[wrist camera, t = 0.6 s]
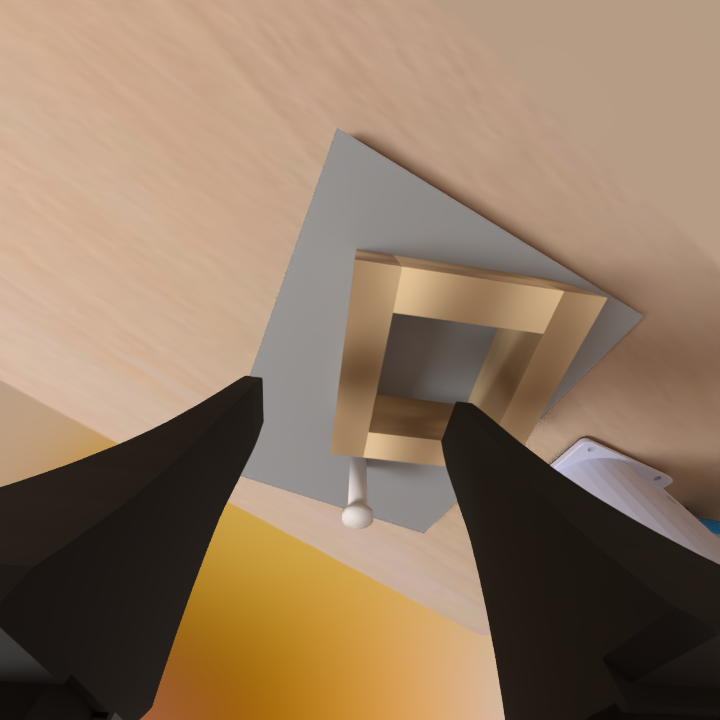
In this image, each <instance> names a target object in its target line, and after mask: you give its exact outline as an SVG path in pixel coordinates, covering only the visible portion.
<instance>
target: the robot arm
mask: <svg viewBox="0 0 720 720" xmlns="http://www.w3.org/2000/svg"><path fill="white" fill-rule="evenodd" d="M263 423H264V411H263V378H261V377H253V376H244V377H242V378H240V379H239V380H237V381H236V382H234V383H232V384H231V385H229V386H228V387H226V388H224V389H223V390H221V391H220V392H218V393H216V394H215V395H213V396H211V397H210V398H208V399H206V400H205V401H203V402H202V403H200V404H198V405H196V406H195V407H193V408H191V409H189V410H187V411H186V412H184V413H182V414H180V415H178V416H177V417H175V418H173V419H171V420H169V421H168V422H166V423H164V424H162V425H160V426H158V427H156V428H154V429H152V430H150V431H147V432H145V433H143V434H141V435H139V436H136V437H134V438H132V439H130V440H128V441H125V442H123V443H121V444H118V445H116V446H113V447H111V448H108V449H106V450H103V451H101V452H98V453H96V454H93V455H91V456H88V457H86V458H83V459H81V460H78V461H76V462H73V463H70V464H68V465H65V466H62V467H59V468H56V469H54V470H51V471H48V472H45V473H42V474H39V475H36V476H34V477H30V478H28V479H25V480H22V481H19V482H16V483H12V484H9V485H6V486H3V487H0V720H140V719H141V718H142V717H143V716H144V715H145V714H146V713H147V712H148V711H149V710H150V709H151V708H152V705H153V702H154V699H155V696H156V693H157V690H158V687H159V684H160V681H161V678H162V675H163V672H164V669H165V666H166V663H167V660H168V657H169V654H170V651H171V648H172V645H173V642H174V639H175V636H176V633H177V630H178V628H179V624H180V622H181V619H182V616H183V614H184V611H185V608H186V605H187V602H188V599H189V597H190V594H191V591H192V588H193V586H194V583H195V580H196V577H197V575H198V572H199V569H200V567H201V564H202V562H203V559H204V556H205V554H206V551H207V548H208V546H209V543H210V541H211V538H212V535H213V533H214V531H215V528H216V526H217V523H218V521H219V518H220V516H221V514H222V512H223V510H224V507H225V505H226V503H227V501H228V499H229V497H230V495H231V493H232V491H233V489H234V487H235V485H236V483H237V482H238V480H239V478H240V476H241V474H242V472H243V470H244V468H245V466H246V464H247V462H248V460H249V458H250V456H251V454H252V452H253V450H254V448H255V445H256V443H257V440H258V437H259V434H260V431H261V428H262V426H263ZM441 444H442V450H443V456H444V460H445V465H446V469H447V472H448V475H449V478H450V481H451V484H452V487H453V490H454V492H455V495H456V498H457V501H458V504H459V507H460V510H461V513H462V516H463V519H464V521H465V524H466V527H467V531H468V534H469V537H470V541H471V544H472V549H473V553H474V557H475V561H476V565H477V569H478V573H479V578H480V583H481V587H482V592H483V596H484V601H485V606H486V610H487V616H488V621H489V626H490V631H491V637H492V642H493V647H494V652H495V658H496V665H497V670H498V677H499V683H500V689H501V695H502V702H503V708H504V715H505V720H720V539H719V538H718V537H717V536H715V535H714V534H713V533H712V532H711V531H710V530H709V529H708V528H707V527H705V526H704V525H703V524H702V523H701V522H700V521H699V520H698V519H697V518H696V517H694V516H693V515H692V514H691V513H690V512H689V511H688V510H687V509H686V508H684V507H683V506H682V505H681V504H680V503H679V502H678V501H677V500H676V499H674V498H673V497H672V496H671V495H670V494H669V493H668V492H667V491H666V490H665V489H664V488H665V487H667V486H668V485H670V484H671V483H672V481H673V479H672V478H671V477H670V476H668V475H667V474H665V473H663V472H660V471H658V470H656V469H654V468H652V467H649V466H647V465H645V464H643V463H641V462H639V461H636V460H634V459H632V458H630V457H628V456H625V455H623V454H621V453H619V452H617V451H615V450H612V449H610V448H608V447H606V446H604V445H601V444H599V443H597V442H595V441H593V440H591V439H588V438H583V439H580V440H579V441H577V442H576V443H575V444H574V445H573V446H572V447H571V448H569V449H568V450H567V451H566V452H565V453H564V454H562V455H561V456H560V457H559V458H558V459H557V460H556V461H554V462H553V463H552V464H551V465H549V464H548V463H546V462H545V461H544V460H542V459H541V458H540V457H538V456H537V455H536V454H534V453H533V452H532V451H530V450H529V449H528V448H527V447H525V446H524V445H523V444H522V443H520V442H519V441H518V440H517V439H516V438H514V437H513V436H512V435H511V434H509V433H508V432H507V431H506V430H505V429H503V428H502V427H501V426H500V425H499V424H498V423H496V422H495V421H494V420H493V419H492V418H490V417H489V416H488V415H487V414H486V413H484V412H483V411H482V410H481V409H479V408H478V407H477V406H475V405H474V404H472V403H467V402H459V401H456V403H455V406H454V408H453V411H452V414H451V416H450V419H449V422H448V424H447V427H446V430H445V432H444V435H443V437H442V440H441Z"/></svg>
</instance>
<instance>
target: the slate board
mask: <svg viewBox="0 0 720 720" xmlns="http://www.w3.org/2000/svg"><path fill="white" fill-rule="evenodd" d="M356 249H358V250H364V251H371V252H377V253H384V254H390V255H397V256H403V257H410V258H416V259H423V260H429V261H436V262H442V263H449V264H455V265H462V266H468V267H475V268H481V269H488V270H494V271H501V272H507V273H514V274H520V275H527V276H533V277H540V278H547V279H553V280H556V281H559V282H562V283H565V284H568V285H571V286H574V287H577V288H580V289H583V290H586V291H589V292H592V293H595V294H598V295H601V296H604V297H607V300H606V302H605V304H604V305H603V307H602V309H601V311H600V312H599V314H598V316H597V318H596V319H595V321H594V323H593V325H592V327H591V328H590V330H589V332H588V334H587V335H586V337H585V339H584V341H583V342H582V344H581V346H580V348H579V349H578V351H577V353H576V355H575V356H574V358H573V360H572V362H571V364H570V365H569V367H568V369H567V371H566V372H565V374H564V376H563V378H562V379H561V381H560V383H559V385H558V386H557V388H556V390H555V392H554V393H553V395H552V397H551V399H550V401H549V402H548V404H547V406H546V408H545V409H544V411H543V413H542V415H541V416H540V418H539V420H540V419H541V418H542V417H543V416H544V415H545V414H546V413H547V412H548V411H549V410H550V409H551V408H552V407H553V406H554V405H555V404H556V403H557V402H558V401H559V400H560V399H561V398H562V397H563V396H564V395H565V394H566V393H567V392H568V391H569V390H570V389H571V388H572V387H573V386H574V385H575V384H576V383H577V382H578V381H579V380H580V379H581V378H582V377H583V376H584V375H585V374H586V373H587V372H588V371H589V370H590V369H591V368H592V367H593V366H594V365H595V364H596V363H597V362H598V361H599V360H601V359H602V358H603V357H604V356H605V355H606V354H607V353H608V352H609V351H610V350H611V349H612V348H613V347H614V346H615V345H616V344H617V343H618V342H619V341H620V340H621V339H622V338H623V337H624V336H625V335H626V334H627V333H628V332H629V331H630V330H631V329H632V328H633V327H634V326H635V325H636V324H637V323H638V322H639V321H640V320H641V319H642V318H643V317H644V316H643V315H642V314H640V313H638V312H637V311H635V310H633V309H632V308H630V307H629V306H627V305H625V304H624V303H622V302H620V301H619V300H617V299H615V298H614V297H612V296H611V295H609V294H607V293H606V292H604V291H602V290H601V289H599V288H598V287H596V286H594V285H593V284H591V283H589V282H588V281H586V280H585V279H583V278H581V277H580V276H578V275H576V274H575V273H573V272H571V271H570V270H568V269H567V268H565V267H563V266H562V265H560V264H558V263H557V262H555V261H554V260H552V259H550V258H549V257H547V256H545V255H544V254H542V253H540V252H539V251H537V250H536V249H534V248H532V247H531V246H529V245H527V244H526V243H524V242H523V241H521V240H519V239H518V238H516V237H514V236H513V235H511V234H510V233H508V232H506V231H505V230H503V229H501V228H500V227H498V226H496V225H495V224H493V223H492V222H490V221H488V220H487V219H485V218H483V217H482V216H480V215H479V214H477V213H475V212H474V211H472V210H470V209H469V208H467V207H465V206H464V205H462V204H461V203H459V202H457V201H456V200H454V199H452V198H451V197H449V196H448V195H446V194H444V193H443V192H441V191H439V190H438V189H436V188H435V187H433V186H431V185H430V184H428V183H426V182H425V181H423V180H421V179H420V178H418V177H417V176H415V175H413V174H412V173H410V172H408V171H407V170H405V169H404V168H402V167H400V166H399V165H397V164H395V163H394V162H392V161H390V160H389V159H387V158H386V157H384V156H382V155H381V154H379V153H377V152H376V151H374V150H373V149H371V148H369V147H368V146H366V145H364V144H363V143H361V142H360V141H358V140H356V139H355V138H353V137H351V136H350V135H348V134H346V133H345V132H343V131H342V130H340V129H338V128H337V129H336V132H335V135H334V138H333V141H332V144H331V146H330V149H329V152H328V155H327V158H326V161H325V163H324V166H323V169H322V172H321V175H320V178H319V180H318V183H317V186H316V189H315V192H314V195H313V197H312V200H311V203H310V206H309V209H308V212H307V214H306V217H305V220H304V223H303V226H302V229H301V232H300V234H299V237H298V240H297V243H296V246H295V249H294V251H293V254H292V257H291V260H290V263H289V266H288V268H287V271H286V274H285V277H284V280H283V283H282V285H281V288H280V291H279V294H278V297H277V300H276V302H275V305H274V308H273V311H272V314H271V317H270V319H269V322H268V325H267V328H266V331H265V334H264V336H263V339H262V342H261V345H260V348H259V351H258V353H257V356H256V359H255V362H254V365H253V368H252V370H251V373H250V376H253V377H261V378H263V411H264V423H263V426H262V428H261V431H260V434H259V437H258V440H257V443H256V445H255V448H254V450H253V452H252V454H251V456H250V458H249V460H248V462H247V464H246V466H245V468H244V470H243V472H242V474H241V476H242V477H245V478H248V479H252V480H255V481H258V482H261V483H264V484H268V485H271V486H274V487H277V488H280V489H283V490H287V491H290V492H293V493H296V494H299V495H303V496H306V497H309V498H312V499H315V500H319V501H322V502H325V503H328V504H331V505H334V506H338V507H341V508H344V509H343V512H342V521H343V523H344V524H345V525H346V526H348V527H350V528H354V529H362V528H366V527H368V526H369V525H371V524H372V522H373V518H376V519H379V520H382V521H385V522H389V523H392V524H395V525H398V526H401V527H405V528H408V529H411V530H414V531H417V532H420V533H425V532H426V531H427V530H428V529H429V528H430V527H431V526H432V525H433V524H434V523H435V522H436V521H437V520H438V519H439V518H440V517H441V516H442V515H443V514H444V513H445V512H446V511H447V510H448V509H449V508H450V507H451V506H452V505H453V504H454V503H455V502H456V501H457V498H456V495H455V492H454V490H453V487H452V484H451V481H450V478H449V475H448V472H447V469H446V466H438V465H428V464H419V463H410V462H401V461H391V460H382V459H373V458H364V457H355V456H345V455H336V454H330V450H331V443H332V435H333V427H334V419H335V411H336V403H337V395H338V387H339V379H340V371H341V364H342V356H343V348H344V340H345V332H346V324H347V316H348V308H349V300H350V292H351V285H352V277H353V269H354V261H355V255H356ZM496 330H497V327H491V326H484V325H477V324H470V323H462V322H455V321H448V320H441V319H434V318H427V317H420V316H413V315H406V314H399V313H393V315H392V320H391V325H390V329H389V334H388V339H387V344H386V349H385V354H384V359H383V364H382V368H381V373H380V378H379V383H378V388H377V393H376V394H378V395H386V396H394V397H402V398H410V399H419V400H427V401H435V402H443V403H451V404H455V403H456V401H459V402H467V403H468V400H469V398H470V395H471V393H472V390H473V388H474V385H475V383H476V380H477V378H478V375H479V373H480V370H481V368H482V365H483V363H484V360H485V358H486V355H487V353H488V350H489V348H490V345H491V343H492V340H493V338H494V335H495V333H496ZM539 420H538V421H539Z"/></svg>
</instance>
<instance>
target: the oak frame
mask: <svg viewBox="0 0 720 720" xmlns="http://www.w3.org/2000/svg"><path fill="white" fill-rule="evenodd" d="M606 300H607V297H604V296H601V295H598V294H595V293H592V292H589V291H586V290H583V289H580V288H577V287H574V286H571V285H568V284H565V283H562V282H559V281H556V280H553V279H547V278H540V277H533V276H527V275H520V274H514V273H507V272H501V271H494V270H488V269H481V268H475V267H468V266H462V265H455V264H449V263H442V262H436V261H429V260H423V259H416V258H410V257H403V256H397V255H390V254H384V253H377V252H371V251H364V250H358V249H356V255H355V261H354V269H353V277H352V285H351V292H350V300H349V308H348V316H347V324H346V332H345V340H344V348H343V356H342V364H341V371H340V379H339V387H338V395H337V403H336V411H335V419H334V427H333V435H332V443H331V450H330V454H336V455H345V456H355V457H364V458H373V459H382V460H391V461H401V462H410V463H419V464H428V465H438V466H446V465H445V460H444V456H443V450H442V444H441V440H442V437H443V435H444V432H445V430H446V427H447V424H448V422H449V419H450V416H451V414H452V411H453V408H454V406H455V404H451V403H443V402H435V401H427V400H419V399H410V398H402V397H394V396H386V395H378V394H376V393H377V388H378V383H379V378H380V373H381V368H382V364H383V359H384V354H385V349H386V344H387V339H388V334H389V329H390V325H391V320H392V315H393V313H399V314H406V315H413V316H420V317H427V318H434V319H441V320H448V321H455V322H462V323H470V324H477V325H484V326H491V327H497V330H496V333H495V335H494V338H493V340H492V343H491V345H490V348H489V350H488V353H487V355H486V358H485V360H484V363H483V365H482V368H481V370H480V373H479V375H478V378H477V380H476V383H475V385H474V388H473V390H472V393H471V395H470V398H469V400H468V403H472V404H474V405H475V406H477V407H478V408H479V409H481V410H482V411H483V412H484V413H486V414H487V415H488V416H489V417H490V418H492V419H493V420H494V421H495V422H496V423H498V424H499V425H500V426H501V427H502V428H503V429H505V430H506V431H507V432H508V433H509V434H511V435H512V436H513V437H514V438H516V439H517V440H518V441H519V442H520V443H522V444H523V445H525V443H526V441H527V439H528V438H529V436H530V434H531V432H532V430H533V429H534V427H535V425H536V423H537V422H538V420H539V418H540V416H541V415H542V413H543V411H544V409H545V408H546V406H547V404H548V402H549V401H550V399H551V397H552V395H553V393H554V392H555V390H556V388H557V386H558V385H559V383H560V381H561V379H562V378H563V376H564V374H565V372H566V371H567V369H568V367H569V365H570V364H571V362H572V360H573V358H574V356H575V355H576V353H577V351H578V349H579V348H580V346H581V344H582V342H583V341H584V339H585V337H586V335H587V334H588V332H589V330H590V328H591V327H592V325H593V323H594V321H595V319H596V318H597V316H598V314H599V312H600V311H601V309H602V307H603V305H604V304H605V302H606Z"/></svg>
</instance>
